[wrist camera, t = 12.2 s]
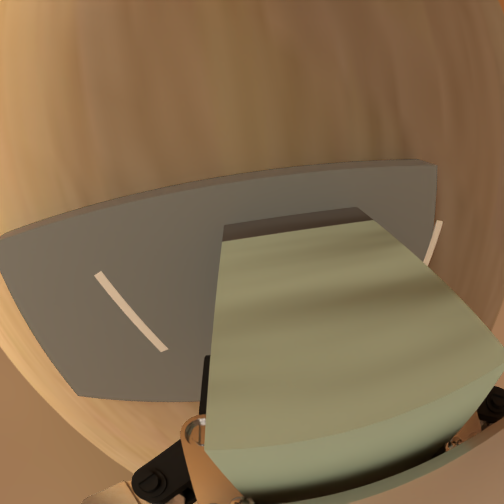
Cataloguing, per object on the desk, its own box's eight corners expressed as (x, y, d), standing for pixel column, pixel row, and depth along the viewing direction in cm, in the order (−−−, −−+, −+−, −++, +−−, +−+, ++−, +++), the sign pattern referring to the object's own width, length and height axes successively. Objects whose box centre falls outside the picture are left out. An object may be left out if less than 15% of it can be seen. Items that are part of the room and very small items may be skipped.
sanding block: (224, 225, 10) (203, 450, 3) (356, 206, 10) (512, 356, 3) (256, 382, 14) (269, 521, 7) (346, 366, 14) (390, 493, 7)
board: (4, 233, 11) (-11, 244, 10) (427, 159, 11) (446, 165, 9) (84, 381, 16) (77, 395, 15) (400, 347, 16) (409, 362, 14)
